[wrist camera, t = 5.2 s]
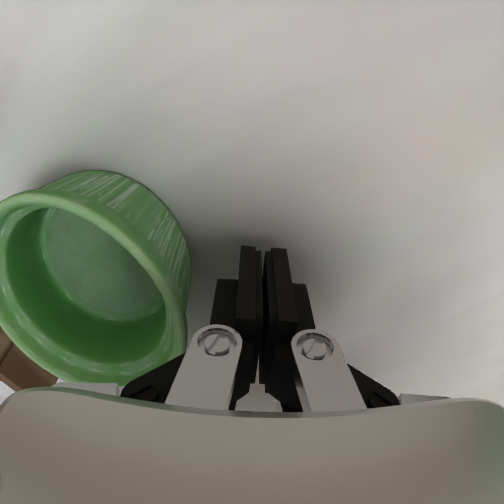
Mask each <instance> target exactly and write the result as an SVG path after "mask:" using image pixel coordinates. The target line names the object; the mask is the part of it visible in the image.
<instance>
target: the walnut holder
mask: <svg viewBox="0 0 504 504" xmlns="http://www.w3.org/2000/svg"><path fill="white" fill-rule="evenodd" d="M57 380H58V377H57V376H55V375H53V374H51V373H50V372H48V371H47V370H45V369H43V368H42V367H41V366H39V365H38V364H37V363H35V362H34V361H33V360H31V359H30V358H29V357H28V356H27V355H26V354H24V353H23V352H22V351H21V350H20V349H19V348H18V347H17V346H16V345H15V344H14V343H13V341H12V340H11V339H10V338H9V337H8V335H7V334H6V333H5V332H4V330H3V329H2V327H1V326H0V381H2V382H4V383H5V384H6V385H8V386H9V387H10V388H12V389H13V390H14V391H16V392H17V391H20V390H24V389H28V388H35V387H51V386H52V385H54V384H56V382H57Z"/></svg>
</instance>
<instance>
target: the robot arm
mask: <svg viewBox="0 0 504 504" xmlns="http://www.w3.org/2000/svg"><path fill="white" fill-rule="evenodd" d="M258 356H259V384H265V393H269V394H271V395H272V396H273V397H274V398H276V399H277V410H278V412H249V411H236V408H237V402H238V400H239V399H240V398H242V397H243V396H244V395H246V394H247V393H248V392H249V388H250V383H255V377H256V370H257V363H258ZM0 504H504V407H502V406H501V405H499V404H497V403H495V402H492V401H489V400H483V399H478V398H449V397H441V396H426V395H413V394H402V393H401V394H400V396H396V395H395V394H394V393H393V392H391V391H390V390H389V389H387V388H386V387H384V386H382V385H381V384H379V383H378V382H376V381H374V380H373V379H371V378H369V377H368V376H366V375H365V374H363V373H362V372H360V371H358V370H357V369H355V368H354V367H352V366H350V365H349V364H347V363H346V360H345V358H344V356H343V354H342V352H341V349H340V347H339V345H338V343H337V342H336V340H335V339H334V338H333V337H332V336H331V335H329V334H328V333H326V332H323V331H320V330H316V328H315V324H314V319H313V314H312V310H311V305H310V301H309V296H308V292H307V288H306V285H305V284H296V283H292V279H291V273H290V268H289V262H288V256H287V251H286V249H281V248H271V252H269V251H265V258H264V267H263V276H262V263H261V251H256V247H252V246H241V252H240V265H239V279H238V280H232V279H218V280H217V285H216V291H215V297H214V303H213V309H212V315H211V321H210V325H208V326H205V327H202V328H201V329H199V330H198V331H197V332H196V333H195V334H194V336H193V337H192V340H191V342H190V344H189V347H188V349H187V351H186V352H185V353H183V354H181V355H179V356H177V357H176V358H174V359H172V360H170V361H168V362H166V363H164V364H162V365H161V366H159V367H157V368H155V369H153V370H151V371H149V372H147V373H145V374H143V375H142V376H140V377H138V378H136V379H134V380H132V381H130V382H129V383H128V384H126V385H125V386H118V385H117V383H75V382H61V383H56V384H54V385H52V386H51V387H35V388H28V389H24V390H20V391H17V392H15V393H13V394H11V395H10V396H9V397H8V398H6V400H5V401H4V402H3V403H2V404H1V405H0Z"/></svg>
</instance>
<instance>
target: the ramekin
mask: <svg viewBox="0 0 504 504" xmlns="http://www.w3.org/2000/svg"><path fill="white" fill-rule="evenodd" d="M190 278H191V263H190V254H189V250H188V247H187V243H186V240H185V238H184V236H183V233H182V231H181V229H180V226H179V225H178V223H177V222H176V220H175V218H174V216H173V215H172V214H171V213H170V211H169V210H168V209H167V207H166V206H165V205H164V204H163V203H162V202H161V201H160V200H159V199H158V198H157V197H156V196H155V195H154V194H153V193H152V192H151V191H149V190H148V189H147V188H145V187H144V186H143V185H141V184H139V183H137V182H135V181H134V180H132V179H130V178H128V177H125V176H122V175H119V174H117V173H111V172H107V171H95V170H89V171H80V172H77V173H74V174H70V175H68V176H65V177H62V178H60V179H58V180H56V181H54V182H52V183H49V184H47V185H45V186H43V187H41V188H39V189H34V190H28V191H24V192H20V193H17V194H15V195H12V196H10V197H8V198H6V199H5V200H3V201H1V202H0V326H1V327H2V329H3V330H4V332H5V333H6V334H7V335H8V337H9V338H10V339H11V340H12V341H13V343H14V344H15V345H16V346H17V347H18V348H19V349H20V350H21V351H22V352H23V353H24V354H26V355H27V356H28V357H29V358H30V359H31V360H33V361H34V362H35V363H37V364H38V365H39V366H41V367H42V368H43V369H45V370H47V371H48V372H50V373H51V374H53V375H55V376H57V377H58V378H60V379H62V380H64V381H66V382H75V383H117V385H118V386H125V385H126V384H128V383H129V382H130V381H132V380H134V379H136V378H138V377H140V376H142V375H143V374H145V373H147V372H149V371H151V370H153V369H155V368H157V367H159V366H161V365H162V364H164V363H166V362H168V361H170V360H172V359H174V358H176V357H177V356H179V355H181V354H183V353H185V352H186V347H187V319H186V314H185V312H186V305H187V299H188V293H189V286H190Z"/></svg>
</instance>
